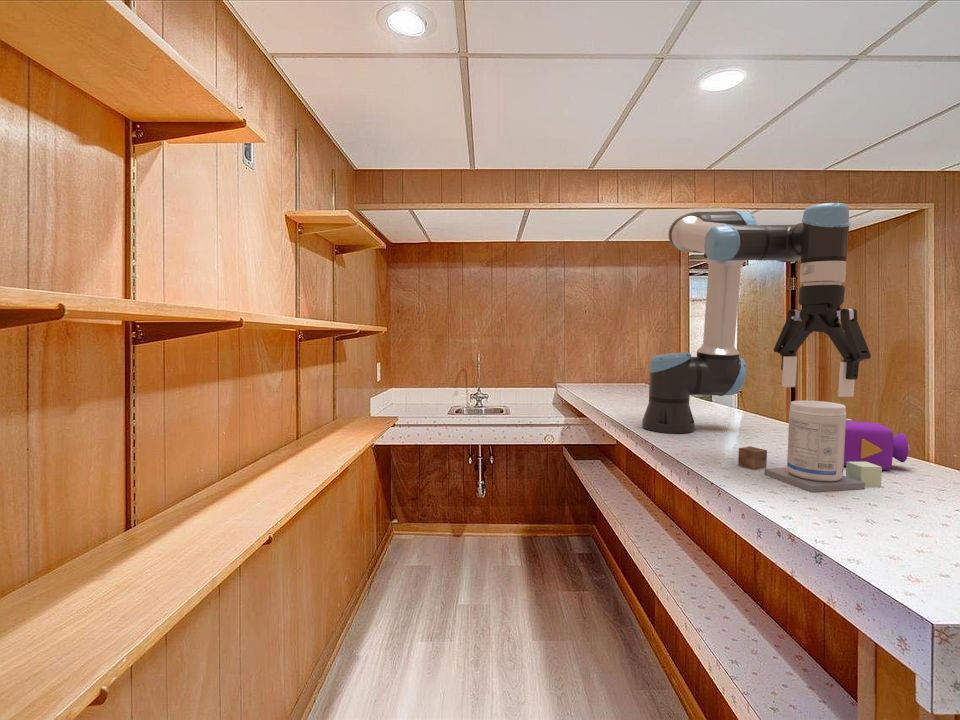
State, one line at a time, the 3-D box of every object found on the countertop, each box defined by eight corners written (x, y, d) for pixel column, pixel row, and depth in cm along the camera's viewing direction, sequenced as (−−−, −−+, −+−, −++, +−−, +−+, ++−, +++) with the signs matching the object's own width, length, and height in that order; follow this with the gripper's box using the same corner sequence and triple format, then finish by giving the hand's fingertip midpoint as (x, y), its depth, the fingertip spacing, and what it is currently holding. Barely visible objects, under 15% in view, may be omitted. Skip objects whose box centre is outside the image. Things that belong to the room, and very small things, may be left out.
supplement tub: (801, 466, 108) (804, 398, 108) (852, 478, 100) (856, 404, 99) (776, 473, 103) (780, 402, 102) (828, 486, 95) (832, 408, 94)
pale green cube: (845, 480, 103) (846, 461, 103) (865, 480, 103) (866, 461, 103) (860, 486, 99) (861, 466, 99) (880, 487, 99) (882, 467, 99)
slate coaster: (764, 474, 107) (764, 468, 107) (812, 471, 109) (812, 466, 109) (811, 492, 95) (811, 486, 95) (864, 488, 98) (864, 482, 98)
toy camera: (919, 474, 108) (922, 428, 107) (847, 470, 111) (849, 425, 110) (889, 461, 119) (891, 419, 118) (824, 458, 121) (826, 416, 121)
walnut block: (738, 465, 114) (738, 448, 114) (749, 463, 116) (750, 446, 116) (754, 470, 111) (755, 452, 110) (766, 467, 112) (767, 450, 112)
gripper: (758, 288, 111) (754, 383, 113) (865, 279, 87) (856, 401, 89) (788, 288, 113) (783, 383, 114) (900, 280, 88) (892, 400, 90)
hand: (815, 391), depth 102 cm, fingers open, 13 cm apart
